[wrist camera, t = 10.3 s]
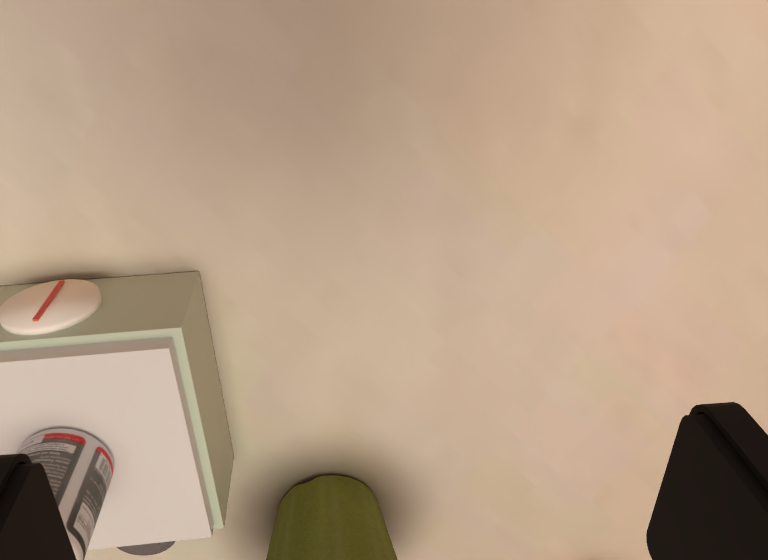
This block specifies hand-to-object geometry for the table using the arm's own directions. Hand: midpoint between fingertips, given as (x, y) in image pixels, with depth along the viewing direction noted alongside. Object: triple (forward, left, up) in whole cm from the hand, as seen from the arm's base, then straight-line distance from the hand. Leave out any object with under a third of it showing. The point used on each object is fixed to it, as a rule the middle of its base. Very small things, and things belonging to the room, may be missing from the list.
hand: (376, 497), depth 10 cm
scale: (+16, -15, -27) cm, 35 cm away
